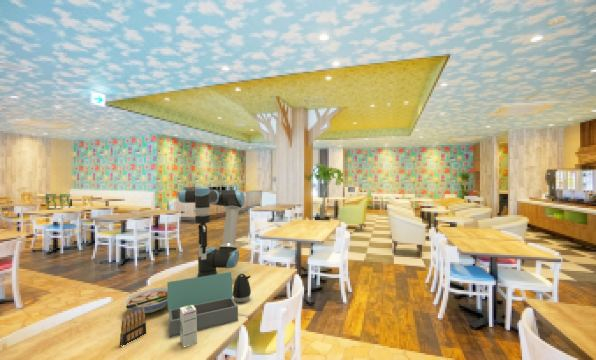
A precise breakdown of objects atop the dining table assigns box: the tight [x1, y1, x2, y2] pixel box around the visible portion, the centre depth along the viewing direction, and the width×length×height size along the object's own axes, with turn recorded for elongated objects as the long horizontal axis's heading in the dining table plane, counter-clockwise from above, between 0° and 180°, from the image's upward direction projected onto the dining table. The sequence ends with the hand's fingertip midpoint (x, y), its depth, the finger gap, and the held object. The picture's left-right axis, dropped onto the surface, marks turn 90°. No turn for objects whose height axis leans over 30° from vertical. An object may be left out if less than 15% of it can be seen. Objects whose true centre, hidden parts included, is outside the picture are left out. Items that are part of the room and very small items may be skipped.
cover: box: [166, 271, 234, 311], centre depth 137 cm, size 13×31×2 cm
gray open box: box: [168, 297, 239, 338], centre depth 129 cm, size 12×30×7 cm, turn 118°
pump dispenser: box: [232, 273, 252, 303], centre depth 153 cm, size 10×10×15 cm
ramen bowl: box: [125, 287, 168, 314], centre depth 142 cm, size 25×23×8 cm
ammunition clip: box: [119, 308, 147, 346], centre depth 116 cm, size 11×2×12 cm, turn 157°
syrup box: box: [179, 305, 198, 348], centre depth 113 cm, size 6×6×14 cm
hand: (202, 257), depth 145 cm, fingers open, 6 cm apart
